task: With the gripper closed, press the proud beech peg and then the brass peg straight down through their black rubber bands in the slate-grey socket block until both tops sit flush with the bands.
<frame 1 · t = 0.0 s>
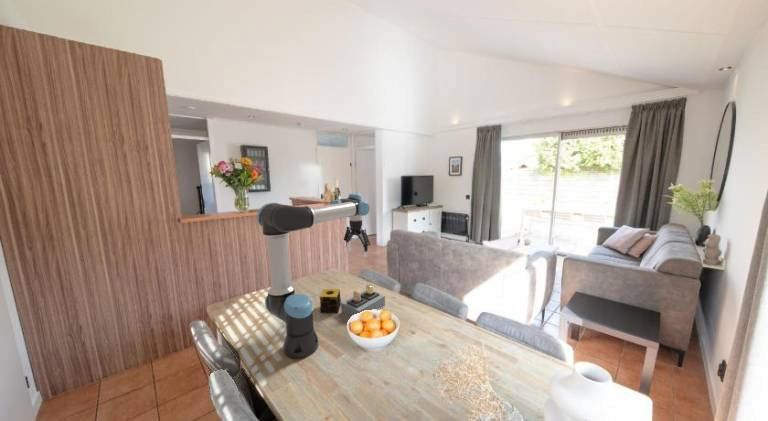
hand: (356, 254, 165), 28 cm above the table, fingers open, 13 cm apart
candle: (331, 309, 157), on the table
beech peg: (357, 298, 151), point 9 cm above the table, slide at 5.0 cm
socket block: (363, 309, 156), on the table
brass peg: (369, 291, 158), point 9 cm above the table, slide at 5.0 cm
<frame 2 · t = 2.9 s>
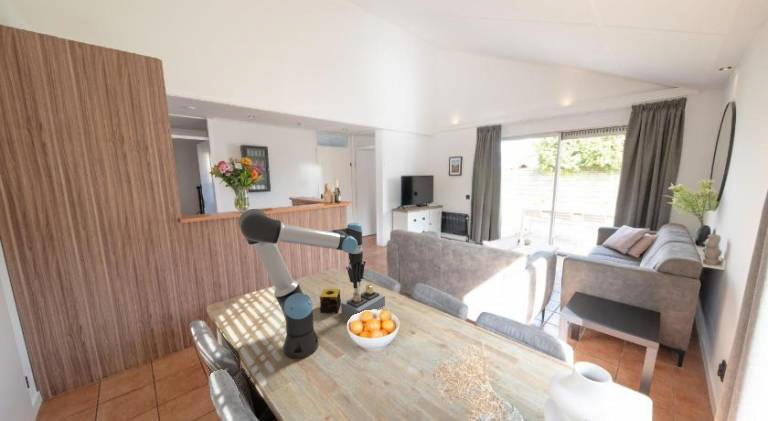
hand: (357, 292, 150), 12 cm above the table, fingers closed
beech peg: (357, 299, 151), point 8 cm above the table, slide at 4.4 cm, touching gripper
everything else where it was.
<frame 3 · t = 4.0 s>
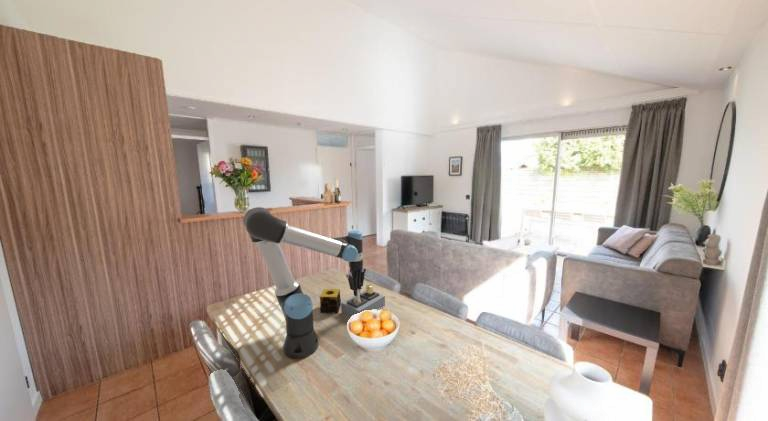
hand: (357, 300, 151), 8 cm above the table, fingers closed
beech peg: (357, 306, 152), point 4 cm above the table, slide at 0.1 cm, touching gripper
everything else where it was.
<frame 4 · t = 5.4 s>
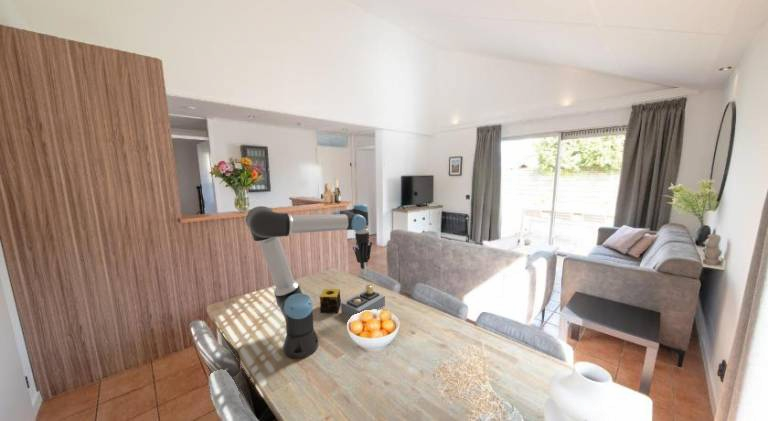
hand: (364, 273, 153), 21 cm above the table, fingers closed
beech peg: (357, 306, 152), point 4 cm above the table, slide at 0.1 cm
everything else where it was.
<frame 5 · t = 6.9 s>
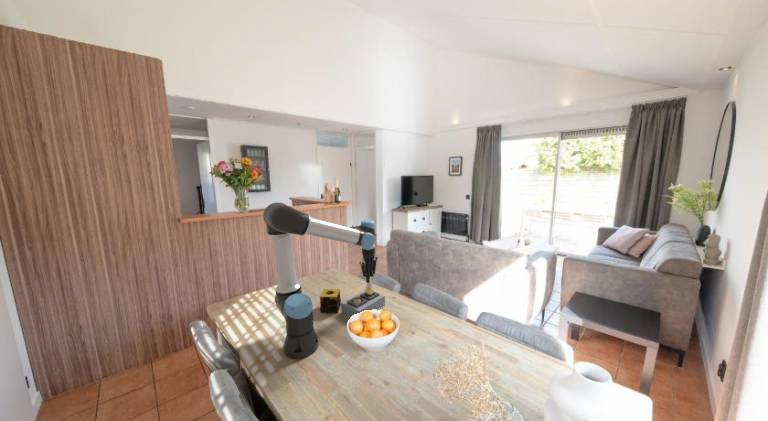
hand: (369, 287, 158), 12 cm above the table, fingers closed
brass peg: (369, 293, 159), point 8 cm above the table, slide at 4.1 cm, touching gripper
everything else where it was.
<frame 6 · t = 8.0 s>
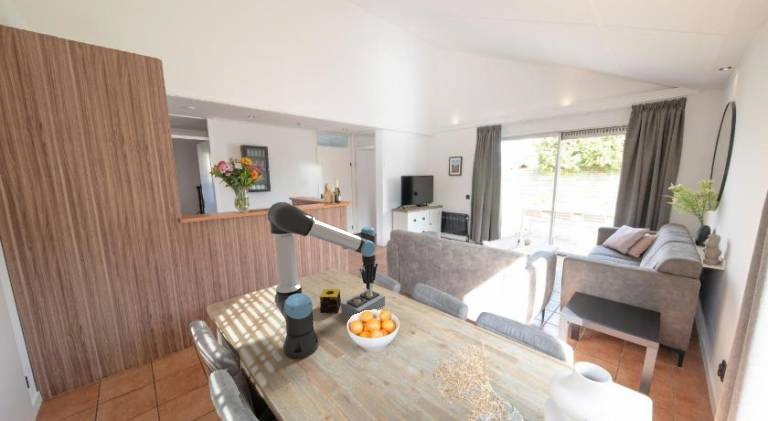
hand: (369, 293, 159), 8 cm above the table, fingers closed
brass peg: (369, 299, 159), point 4 cm above the table, slide at 0.1 cm, touching gripper
everything else where it was.
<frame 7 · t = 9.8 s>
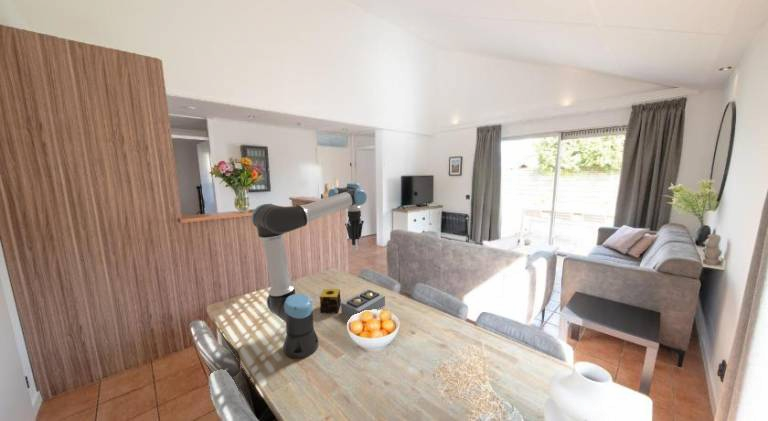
hand: (355, 249, 160), 32 cm above the table, fingers closed
brass peg: (369, 299, 159), point 4 cm above the table, slide at 0.1 cm
everything else where it was.
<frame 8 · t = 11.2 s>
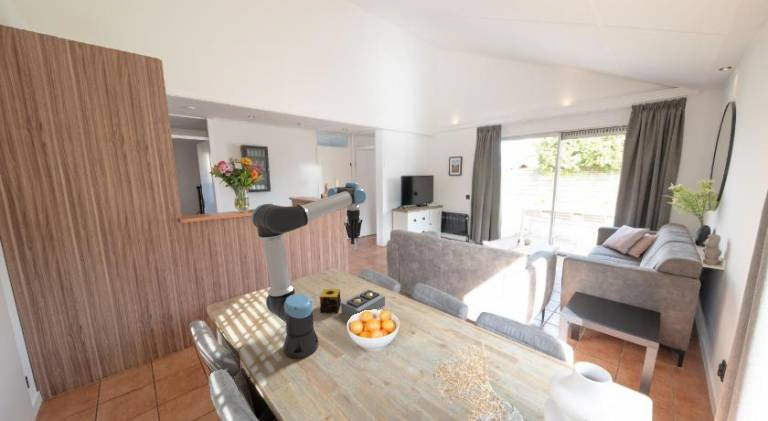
hand: (354, 248, 161), 32 cm above the table, fingers closed
nothing on the table moved.
at the end: beech peg slide at 0.1 cm; brass peg slide at 0.1 cm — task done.
